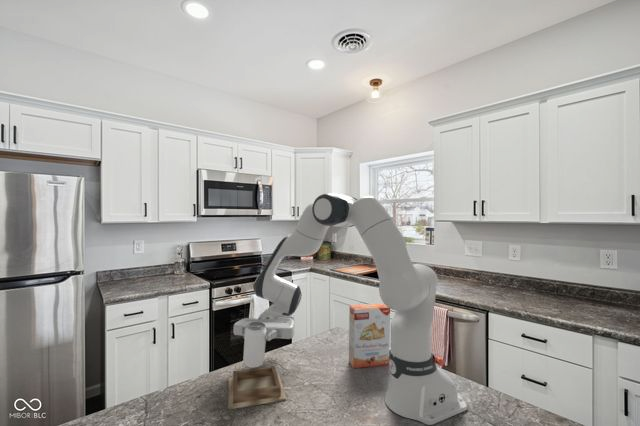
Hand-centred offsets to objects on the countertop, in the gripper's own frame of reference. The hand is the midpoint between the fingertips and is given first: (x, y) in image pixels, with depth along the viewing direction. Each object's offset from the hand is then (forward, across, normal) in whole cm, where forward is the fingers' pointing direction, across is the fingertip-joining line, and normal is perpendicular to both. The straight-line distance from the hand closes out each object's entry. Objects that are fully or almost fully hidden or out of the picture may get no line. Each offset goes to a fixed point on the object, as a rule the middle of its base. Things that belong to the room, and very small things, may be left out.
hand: (256, 337), depth 92 cm
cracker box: (-23, +35, +16) cm, 44 cm away
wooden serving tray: (0, 0, +16) cm, 16 cm away
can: (-1, -1, +9) cm, 9 cm away
